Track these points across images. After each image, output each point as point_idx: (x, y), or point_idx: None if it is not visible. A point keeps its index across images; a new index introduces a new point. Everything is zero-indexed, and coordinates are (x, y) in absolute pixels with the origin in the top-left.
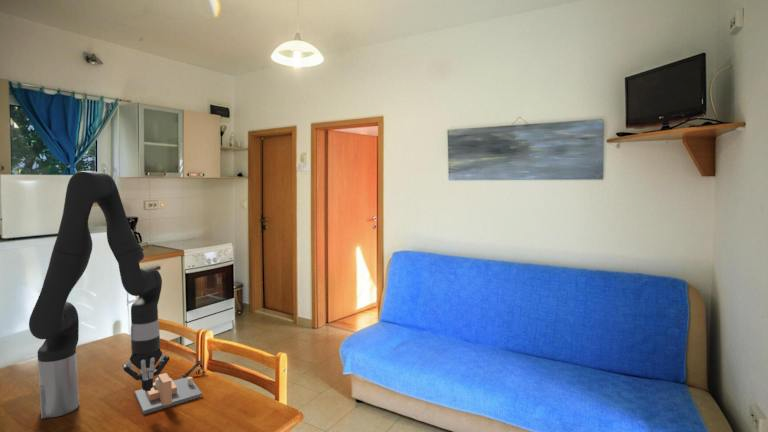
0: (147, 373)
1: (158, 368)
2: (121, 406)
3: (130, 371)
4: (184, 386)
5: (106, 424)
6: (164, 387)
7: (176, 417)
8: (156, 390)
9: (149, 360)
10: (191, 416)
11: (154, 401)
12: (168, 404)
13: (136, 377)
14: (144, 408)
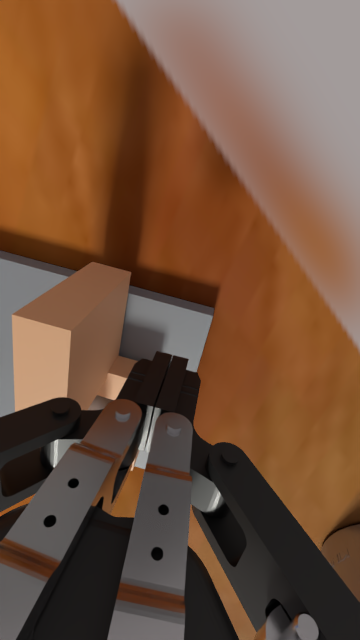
0: (127, 472)
1: (22, 445)
2: (240, 430)
3: (307, 582)
4: (6, 365)
5: (354, 356)
6: (80, 310)
7: (117, 145)
8: (111, 395)
9: (37, 625)
10: (55, 82)
11: (143, 351)
12: (108, 266)
13: (241, 473)
14: (199, 330)
